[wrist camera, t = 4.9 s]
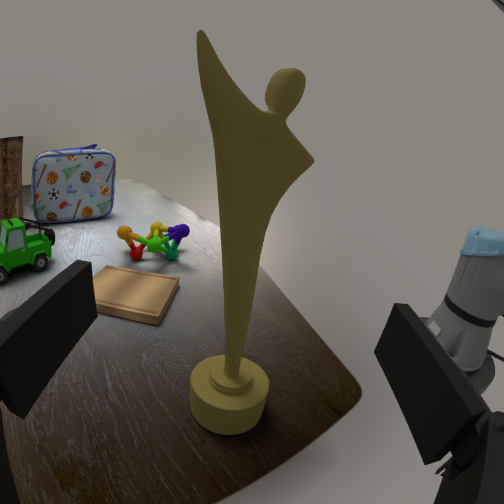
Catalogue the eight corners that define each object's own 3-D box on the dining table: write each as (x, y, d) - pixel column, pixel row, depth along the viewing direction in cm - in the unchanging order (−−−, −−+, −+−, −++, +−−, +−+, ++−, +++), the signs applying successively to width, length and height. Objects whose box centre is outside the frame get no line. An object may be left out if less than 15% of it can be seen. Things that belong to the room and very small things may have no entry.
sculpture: (245, 368, 31) (293, 81, 21) (288, 407, 26) (368, 80, 16) (158, 401, 24) (171, 45, 14) (195, 456, 19) (238, 8, 9)
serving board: (179, 285, 47) (179, 277, 47) (158, 325, 36) (158, 316, 35) (106, 272, 47) (106, 264, 46) (73, 305, 35) (72, 296, 35)
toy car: (-18, 274, 35) (-27, 224, 31) (48, 252, 49) (45, 206, 46) (-12, 291, 31) (-23, 235, 28) (63, 265, 46) (59, 214, 42)
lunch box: (111, 210, 84) (115, 143, 77) (119, 218, 77) (123, 143, 70) (33, 219, 66) (32, 147, 59) (32, 229, 59) (31, 147, 52)
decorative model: (124, 226, 59) (188, 212, 61) (132, 264, 60) (195, 251, 63) (106, 229, 46) (185, 212, 49) (116, 276, 48) (194, 260, 50)
